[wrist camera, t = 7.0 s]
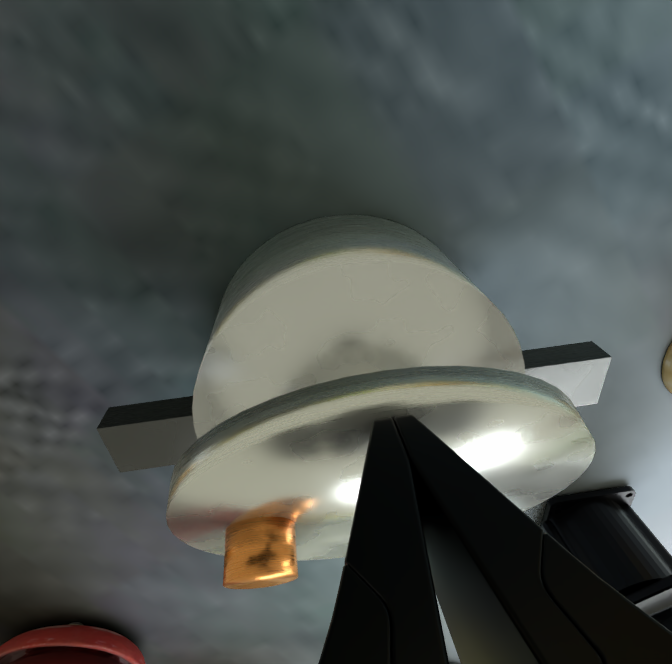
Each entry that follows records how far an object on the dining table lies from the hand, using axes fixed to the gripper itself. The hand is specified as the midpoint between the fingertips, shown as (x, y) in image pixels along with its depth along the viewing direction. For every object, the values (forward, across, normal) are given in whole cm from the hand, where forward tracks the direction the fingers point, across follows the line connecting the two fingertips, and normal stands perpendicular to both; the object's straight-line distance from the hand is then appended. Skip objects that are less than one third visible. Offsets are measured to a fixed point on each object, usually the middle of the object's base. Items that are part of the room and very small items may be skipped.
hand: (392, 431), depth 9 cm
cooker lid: (+3, 0, +5) cm, 6 cm away
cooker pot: (+12, 0, +5) cm, 13 cm away
